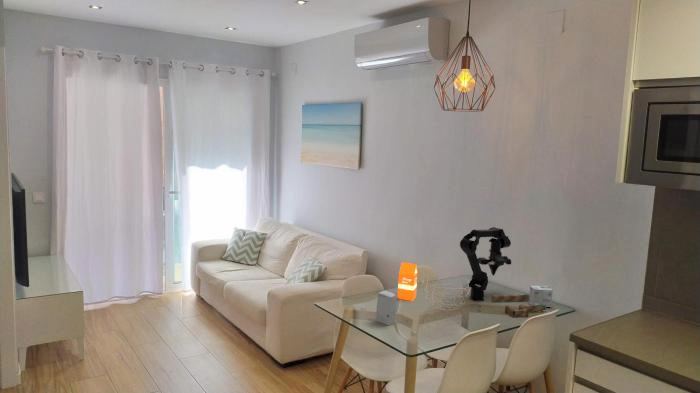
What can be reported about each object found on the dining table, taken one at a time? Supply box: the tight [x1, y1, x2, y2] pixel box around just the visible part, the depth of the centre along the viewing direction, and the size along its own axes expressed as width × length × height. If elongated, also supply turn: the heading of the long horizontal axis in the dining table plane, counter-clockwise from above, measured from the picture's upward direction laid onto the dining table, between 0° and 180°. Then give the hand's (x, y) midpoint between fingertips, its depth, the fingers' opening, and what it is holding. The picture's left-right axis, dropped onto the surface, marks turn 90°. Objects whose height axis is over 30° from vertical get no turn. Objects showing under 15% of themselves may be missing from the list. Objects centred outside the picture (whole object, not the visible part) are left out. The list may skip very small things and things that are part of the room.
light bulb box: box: [528, 285, 553, 308], centre depth 281 cm, size 11×7×11 cm, turn 90°
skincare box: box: [375, 289, 398, 326], centre depth 248 cm, size 8×6×15 cm
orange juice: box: [397, 262, 418, 302], centre depth 284 cm, size 8×9×20 cm
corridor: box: [491, 293, 547, 318], centre depth 276 cm, size 23×23×4 cm
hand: (493, 275), depth 294 cm, fingers closed
